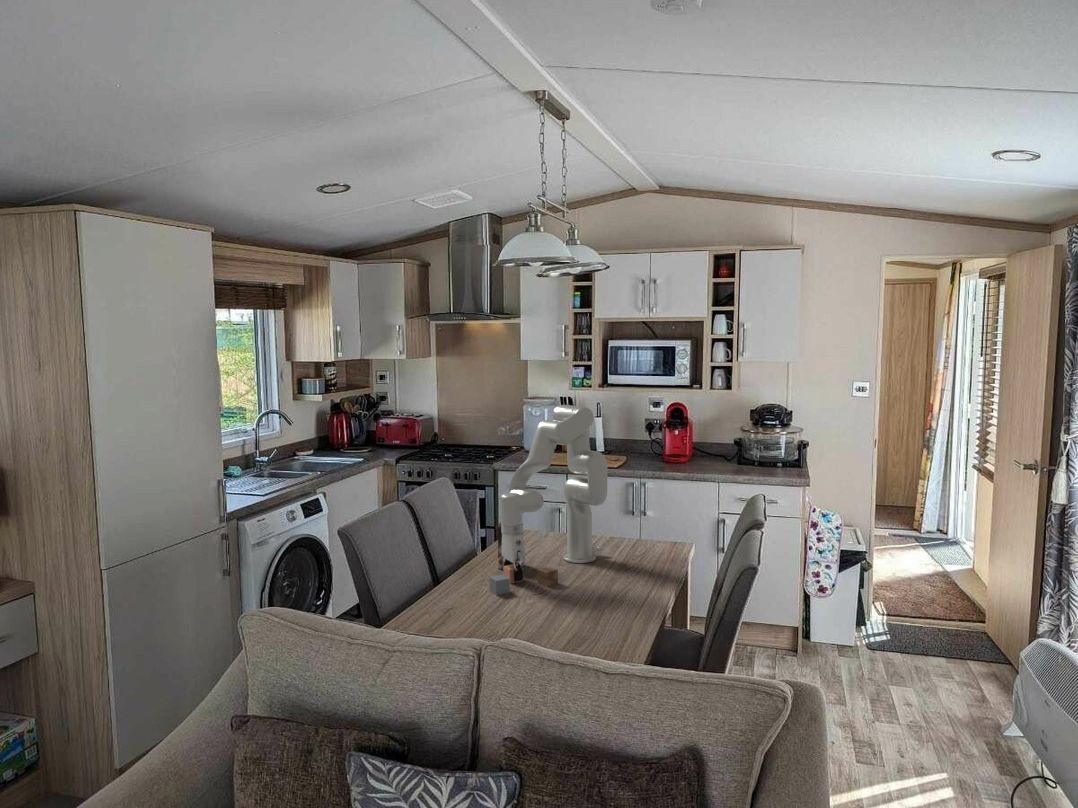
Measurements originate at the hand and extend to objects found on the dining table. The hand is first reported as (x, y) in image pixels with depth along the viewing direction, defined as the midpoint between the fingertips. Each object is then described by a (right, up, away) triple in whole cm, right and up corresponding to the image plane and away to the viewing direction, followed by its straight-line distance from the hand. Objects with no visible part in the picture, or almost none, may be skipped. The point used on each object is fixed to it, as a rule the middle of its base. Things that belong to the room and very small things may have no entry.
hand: (513, 577), depth 265 cm
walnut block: (+12, -1, -4) cm, 13 cm away
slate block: (-4, -2, -11) cm, 12 cm away
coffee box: (-1, 0, +15) cm, 15 cm away
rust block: (0, -1, 0) cm, 1 cm away
